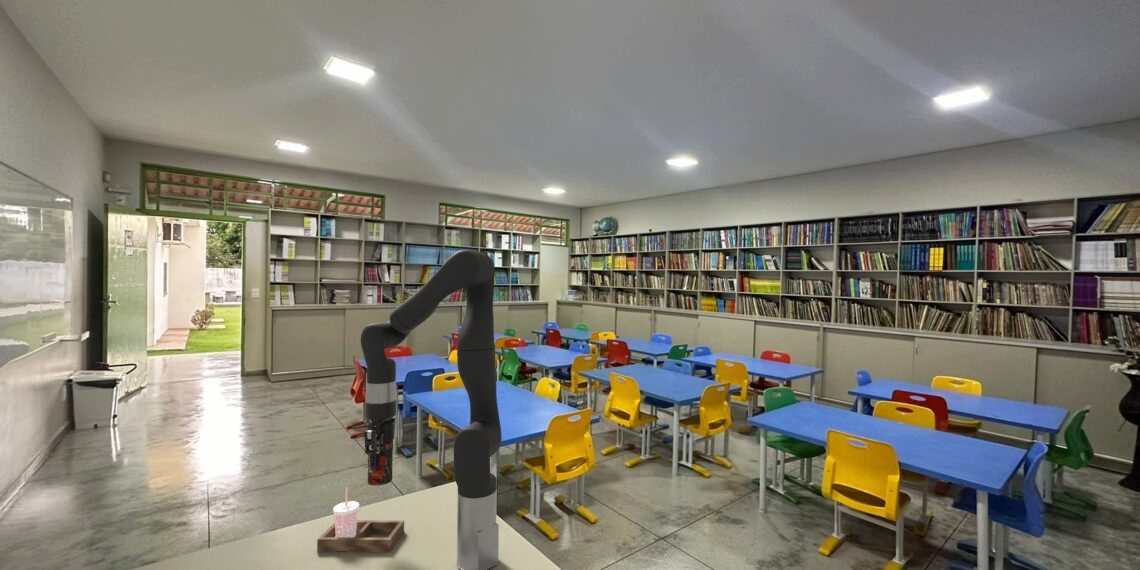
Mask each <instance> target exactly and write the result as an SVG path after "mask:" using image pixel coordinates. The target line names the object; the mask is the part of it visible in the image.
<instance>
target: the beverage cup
mask: <svg viewBox="0 0 1140 570" xmlns="http://www.w3.org/2000/svg"><path fill="white" fill-rule="evenodd" d="M348 490H349V489H348V486H345V499H344V500H345V501H344V502H341V503H337V504H336V505H335V506H333V509H332V511H333V515H334V523H335V536H336V537H354V536H355V535H356V534H357V533H356V528H357V520H358V512H359V509H360V503H359V502H358V501H353V500H350V501H348Z"/></svg>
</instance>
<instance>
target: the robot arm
mask: <svg viewBox="0 0 1140 570" xmlns="http://www.w3.org/2000/svg"><path fill="white" fill-rule="evenodd" d="M494 264H495V263H494V261H493V260H492V258H491V256H489V255H488V254H487V253H485V252H482V251H478V250H471V249H461V250H458V251H456V252H454V253H453V254H451V256H450V257H448V259H447V260H446V261H445V262H444V263H443V264H442V265H441V266H440V267H439V269H438V270H437V271H436V272H435V273H434V274H433V275H432V276H431V278H430V279H428V281H426V282H425V283H424V285H422V287H421V288H419V289H418V290H417V291H416V292H415V293H414V294H412V295H411V296H409V297H408V298H406V299H405V301H403V302H402V303H400V304H399V305H397V307H396V308H394V309H393V310H392V311H391V313H390V314H389V320H387V321H385V322H384V321H383V322H375V323H374V322H373V323H369V324H367V325H366V326H365V327H364V328H363V329H362V332H361V335H360V346H361V350H362V353H363V358H364V361H365V364H366V387H365V402H364V404H365V406H364V407H365V412H364V414H365V417H364V418H365V419H367V420H368V421H371V422H370V423H371V427H370V430H369V431H368V430H365V431H364V433H363V434H364V453H365V454H366V455H368V454H370V468H371V469H378V468H379V467H380V449H381V444H383V435H382V436H381V438H380V440H379V441H377V440H376V436H379V435H380V433H381V426H382V425H383V424H385V423H386V422H387V421H389V420H391V421H393V441H394V440H395V435H396V434H395V432H396V420H397V418H396V417H395V416H396V415H397V397H398V396H397V392H398V391H397V382H396V381H397V377H396V376H397V368H396V367H397V364H396V363H397V362H395V359H393V358H390V357H387V355H386V351H385V350H387V349H392V348H395V347H397V346H398V345H400V344H402V342H403V341H405V340H406V338H408V336H409V335H410V333H411V332H412V331H413V330H415V329H416V328H417V327H419V326H420V325H421V324H423V323H424V322H426V320H427V319H429V318H430V317H431V316H432V315H433V314H434V312H436V311H435V310H437V308H438V307H439V305H440V304H441V302H442V301H444V299H446V298H447V297H448V296H450V295H451V294H453V293H455V292H457V291H459V290H461V289H464V288H465V296H466V298H465V299H466V307H465V314H464V318H463V320H462V323H461V325H460V328H459V332H458V336H457V340H456V361H457V371H458V375H459V377H460V380H461V382H462V385H463V387H464V389H465V391H466V393H467V396H468V398H469V399H468V400H469V408H470V409H469V410H470V411H469V412H470V414H469V415H470V419H469V424H468V425H467V426H465V427H464V428H462V429H461V430H460V431H458V433H457V434H456V436H455V438H454V442H453V474H454V480H455V481H454V482H455V484H456V486H457V503H456V504H457V509H456V510H457V513H456V514H457V518H456V519H457V521H456V522H457V523H456V525H457V527H456V531H457V532H456V534H457V535H456V565H458V566H459V567H460V568H462V569H464V570H487V569H489V568H490V569H492V568H494V567H496V566H498V565H499V548H500V547H499V545H500V543H499V542H500V541H499V537H500V536H499V534H500V532H499V530H500V529H499V527H500V526H499V523H497V493H498V491H497V488H498V487H497V486H498V485H497V482H498V481H497V477H496V476H495V474H493V473H492V472H491V466H490V465H491V463H490V458H492V457H493V456H494V455H495V454H496V453H497V452H498V450H499V449H500V447H501V444H502V440H503V437H502V427H501V421H500V414H499V407H498V400H497V375H496V374H497V372H496V360H497V359H496V343H495V324H494V323H495V322H494V294H495V293H494V291H495V275H496V274H495V272H496V271H495V265H494ZM376 433H377V434H376ZM377 444H378V445H377ZM369 445H370V447H369ZM491 567H492V568H491ZM490 569H489V570H490Z"/></svg>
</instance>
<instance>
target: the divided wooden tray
mask: <svg viewBox="0 0 1140 570" xmlns="http://www.w3.org/2000/svg"><path fill="white" fill-rule="evenodd" d="M404 533H405V520H386V519H385V520H382V519H381V520H378V519H377V520H376V519H375V520H373V519H372V520H370V519H369V520H367V519H364V520H363V519H361V520H360V519H359V520H358V519H357V528H356V535H355V536H354V537H335V522H334V523H333V524H331V526H330V527H328V529H326V531H325V532H323V533H322V534H321V536H319V537H318V538H317V540H316V541H317V542H316V544H317V545H316V546H317V548H316V551H347V552H346V553H348V552H349V553H350V552H351V553H362V552H363V553H391V551H392V550H393V548H394V547H395V545H396V544H397V543H398V541H399V539H401V537H402V535H404ZM371 534H372V535H373V534H379V535H381V534H382V535H383V534H389V535H388V537H369V536H370V535H371Z"/></svg>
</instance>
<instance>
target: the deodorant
mask: <svg viewBox="0 0 1140 570" xmlns="http://www.w3.org/2000/svg"><path fill="white" fill-rule="evenodd" d="M367 425H368V430H367V431H369V430H370V427H371V422H368V424H367ZM376 434H377V433H376ZM382 435H383V444H381V449H380V467H379V468H378V469H371V468H370V454H367V484H368V486H375V487H376V486H377V487H378V486H383V485H386V484H389V483H391V482H392V481H393V457H394V456H393V453H394V452H393V450H394V449H393V448H394V445H393V443H394V440H393V421H391V420H389V421H387V422H386V423H385V424H383V425H382V426H381V433H380V435H379V436H376V440H377V441H379V440H380V438H381V436H382ZM377 445H378V444H377ZM369 447H370V445H369Z"/></svg>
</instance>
